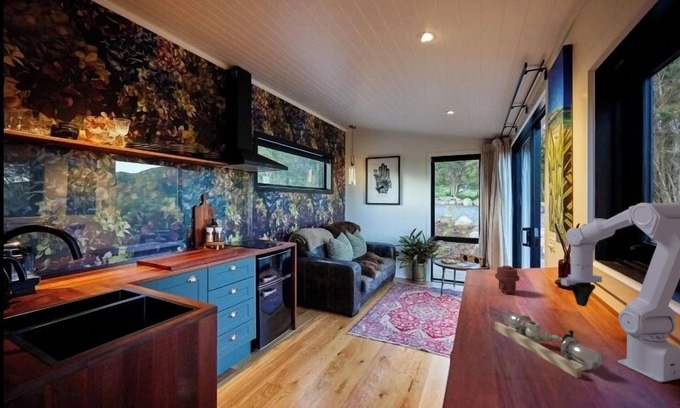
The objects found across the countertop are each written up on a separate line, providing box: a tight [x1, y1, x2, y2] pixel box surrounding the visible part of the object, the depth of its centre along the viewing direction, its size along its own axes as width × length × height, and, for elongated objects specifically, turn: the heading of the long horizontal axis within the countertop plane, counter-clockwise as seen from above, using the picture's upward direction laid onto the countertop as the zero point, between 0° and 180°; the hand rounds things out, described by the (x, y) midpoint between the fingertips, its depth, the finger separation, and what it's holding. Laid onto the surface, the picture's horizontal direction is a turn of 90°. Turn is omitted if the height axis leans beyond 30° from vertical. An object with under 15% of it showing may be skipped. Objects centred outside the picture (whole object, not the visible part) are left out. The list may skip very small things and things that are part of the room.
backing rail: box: [493, 321, 582, 379], centre depth 91 cm, size 29×2×2 cm, turn 13°
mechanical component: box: [494, 265, 521, 295], centre depth 142 cm, size 12×10×10 cm
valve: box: [525, 320, 575, 345], centre depth 92 cm, size 7×7×12 cm
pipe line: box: [502, 310, 603, 372], centre depth 92 cm, size 29×6×6 cm, turn 13°
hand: (581, 305), depth 100 cm, fingers closed
